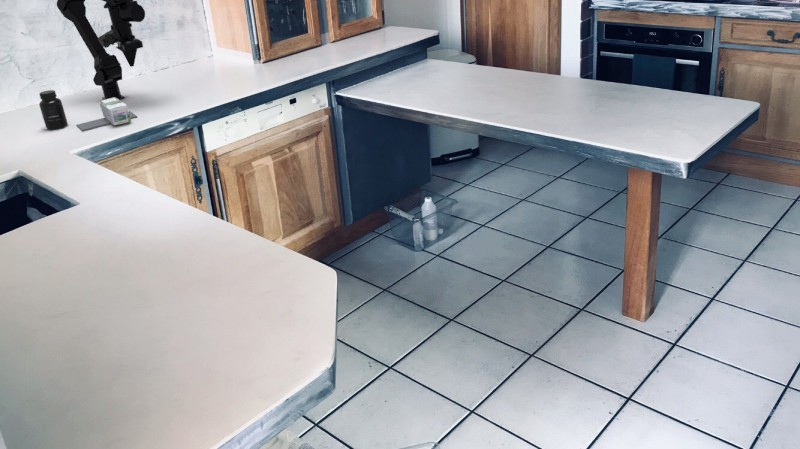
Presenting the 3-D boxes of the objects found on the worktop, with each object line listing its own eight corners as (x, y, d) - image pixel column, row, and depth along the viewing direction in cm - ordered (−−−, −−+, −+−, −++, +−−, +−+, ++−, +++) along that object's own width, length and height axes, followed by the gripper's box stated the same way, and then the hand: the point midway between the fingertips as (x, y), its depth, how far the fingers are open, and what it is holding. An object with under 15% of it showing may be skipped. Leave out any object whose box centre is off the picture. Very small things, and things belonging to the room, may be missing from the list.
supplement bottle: (54, 131, 240) (43, 95, 235) (42, 129, 243) (31, 94, 238) (72, 124, 245) (62, 89, 240) (60, 122, 248) (49, 88, 243)
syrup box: (103, 117, 248) (114, 126, 237) (98, 100, 245) (109, 109, 234) (120, 112, 251) (132, 122, 240) (115, 96, 248) (127, 104, 237)
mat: (76, 126, 243) (76, 124, 243) (130, 112, 252) (129, 111, 251) (82, 131, 237) (82, 130, 237) (137, 117, 246) (137, 115, 245)
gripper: (89, 22, 253) (101, 67, 260) (104, 29, 239) (116, 75, 246) (121, 16, 258) (132, 60, 265) (137, 22, 244) (149, 68, 251)
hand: (132, 66), depth 257 cm, fingers closed
